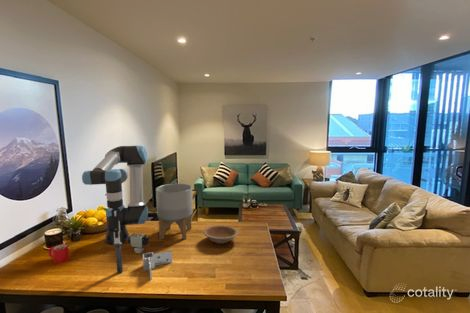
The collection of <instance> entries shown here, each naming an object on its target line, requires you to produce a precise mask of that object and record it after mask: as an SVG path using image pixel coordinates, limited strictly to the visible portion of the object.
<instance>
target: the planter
mask: <svg viewBox="0 0 470 313" xmlns="http://www.w3.org/2000/svg"><path fill="white" fill-rule="evenodd" d="M155 195H156V196H155V198H156V200H155V201H156V215H157V217H158V232H159V236H158V237H159V240H164V239H165V233H166V232H167V230H169V231H170V230H171V227H172V226H171V225H172V224H174V223H176V224H177V226H178V228H179V230H180V233H181V239H182V240H184V241H185V240H187V230H188V231H190V230H192V215H193V213H194V212H193V211H194V210H193V209H194V205H193V186H192V185H191V184H187V183H180V182H179V183H176V182H175V183H168V184H162V185H160V186H157V187H156V189H155Z"/></svg>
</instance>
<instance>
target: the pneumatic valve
mask: <svg viewBox="0 0 470 313" xmlns="http://www.w3.org/2000/svg"><path fill="white" fill-rule="evenodd" d="M149 242H150V240H149V237H148V235H147V234H143V233H132V234H131V235H129V238H128V240H127V243H128V244H129V247H134V249H133V250H134V253H135V254H142V253H143V252H144V247H146V246H147V245H148V244H149Z"/></svg>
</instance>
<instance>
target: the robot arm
mask: <svg viewBox="0 0 470 313" xmlns="http://www.w3.org/2000/svg"><path fill="white" fill-rule="evenodd" d="M147 162H148V153H147V150H146V147H145V146H143V145H119V146H116V147H114V148H112V149H110V150H109V151H108V152H106V154H105V155H104V158H103V159H102V160H101V161H100V162H99V163H98V164H96V165H95V167H94V168H93V169H92V170H86V171H83V173H82V175H81V181H82V183H83V184H84V185H86V186H87V185H89V186H92V185H94V186H95V185H105V192H106V193H105V194H104V195H105V196H106V205H107V209H106V211H105V218H106V228H107V229H106V233H105V237H104V240H105V243H106V244H108V245H114V244H117V243H120V241H121V242H122V243H124V242H126V241H127V242H128V238H129V237H130V233H129V231H128V229H127V226H129V225H130V226H131V225H144V224H145V223H146V222H147V220H148V214H149V207H148V206H146V203H145V202H144V181H143V180H144V179H143V178H144V177H143V176H144V175H143V174H144V172H143V170H144V166H146V165H145V164H146V163H147ZM122 163H123V164H126V166H127V167H128V168H129V173H128V171H127V170H126V169H124V168H118V169H117V168H114V166H116V165H118V164H122ZM128 177H129V203H128V205H127V207H126V206H125V205H124V200H123V186H122V185H123V183H125V182H126V181H127V179H128Z"/></svg>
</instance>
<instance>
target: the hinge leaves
mask: <svg viewBox="0 0 470 313" xmlns="http://www.w3.org/2000/svg"><path fill="white" fill-rule="evenodd" d="M172 252H173V251H172V249H171V250H167V251H163V252H156V253H154V251H152V252H151V251H150V252H145V253H142V267H143V272H144V271H148V274H149V279H150V281H152V280H153V272H152V270H154V269H155V268H156V266H162V265H167V264H171V263H173V253H172Z"/></svg>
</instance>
